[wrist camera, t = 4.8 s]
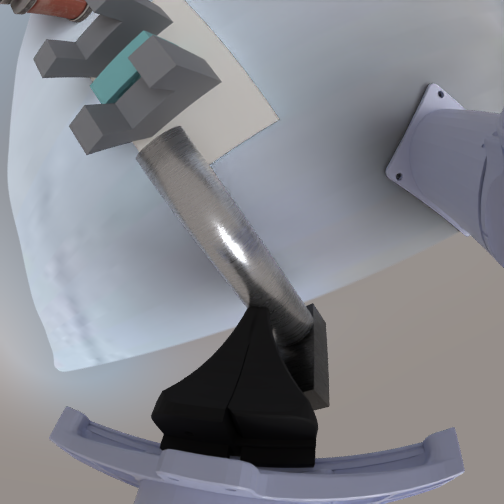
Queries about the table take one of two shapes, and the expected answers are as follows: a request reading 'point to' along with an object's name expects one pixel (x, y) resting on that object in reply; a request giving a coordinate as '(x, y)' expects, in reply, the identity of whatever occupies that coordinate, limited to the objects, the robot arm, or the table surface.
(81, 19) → the lighter
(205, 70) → the shaft stand
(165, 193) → the shaft
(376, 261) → the table surface
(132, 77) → the spacer
